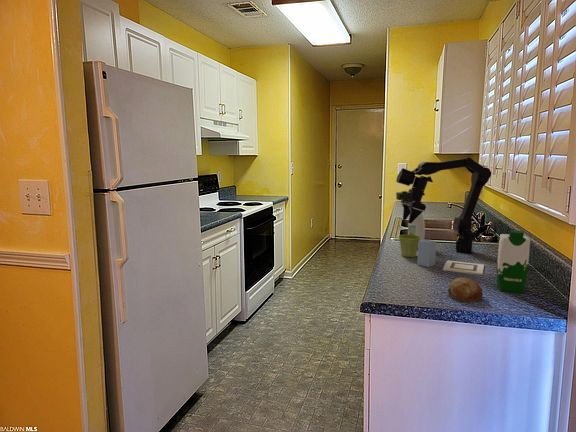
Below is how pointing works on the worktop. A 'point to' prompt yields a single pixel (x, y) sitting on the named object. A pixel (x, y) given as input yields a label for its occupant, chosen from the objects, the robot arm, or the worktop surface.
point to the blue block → (426, 252)
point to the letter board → (464, 267)
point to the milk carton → (513, 262)
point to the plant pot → (409, 245)
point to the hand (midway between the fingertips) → (406, 221)
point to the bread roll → (465, 290)
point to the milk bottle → (417, 227)
